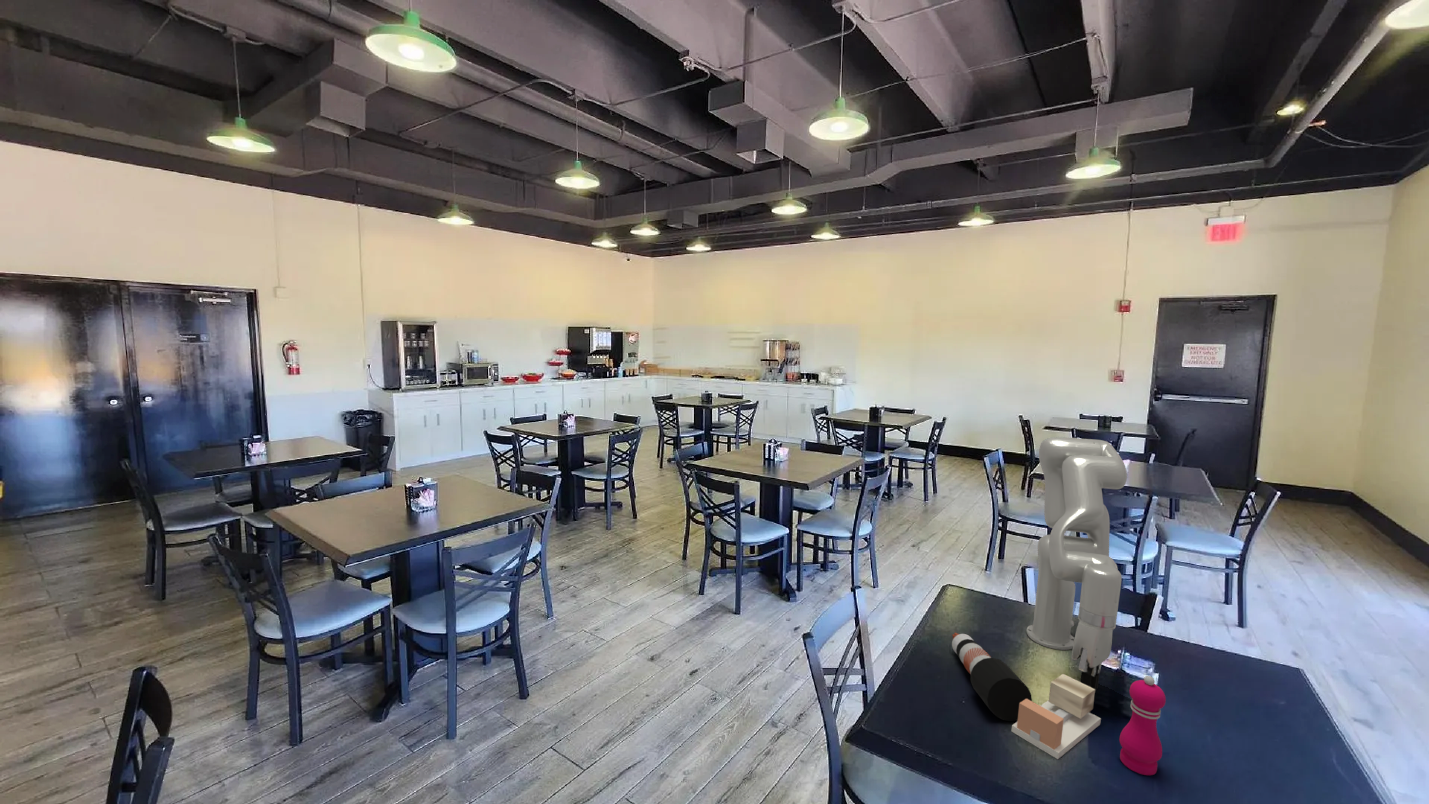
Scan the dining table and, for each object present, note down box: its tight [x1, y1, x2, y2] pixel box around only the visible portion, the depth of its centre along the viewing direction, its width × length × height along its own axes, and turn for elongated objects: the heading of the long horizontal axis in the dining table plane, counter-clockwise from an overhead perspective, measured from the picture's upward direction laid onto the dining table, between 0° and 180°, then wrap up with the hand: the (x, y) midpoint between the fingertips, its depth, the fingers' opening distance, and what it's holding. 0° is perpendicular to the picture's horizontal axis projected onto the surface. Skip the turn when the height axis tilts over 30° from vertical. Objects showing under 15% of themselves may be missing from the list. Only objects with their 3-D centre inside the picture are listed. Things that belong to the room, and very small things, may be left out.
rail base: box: [1011, 699, 1102, 760], centre depth 131 cm, size 20×10×8 cm, turn 124°
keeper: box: [1048, 673, 1096, 719], centre depth 135 cm, size 6×7×5 cm
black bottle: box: [951, 632, 1033, 722], centre depth 149 cm, size 10×34×10 cm, turn 175°
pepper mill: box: [1118, 675, 1167, 776], centre depth 120 cm, size 7×7×20 cm
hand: (1088, 687), depth 140 cm, fingers closed
